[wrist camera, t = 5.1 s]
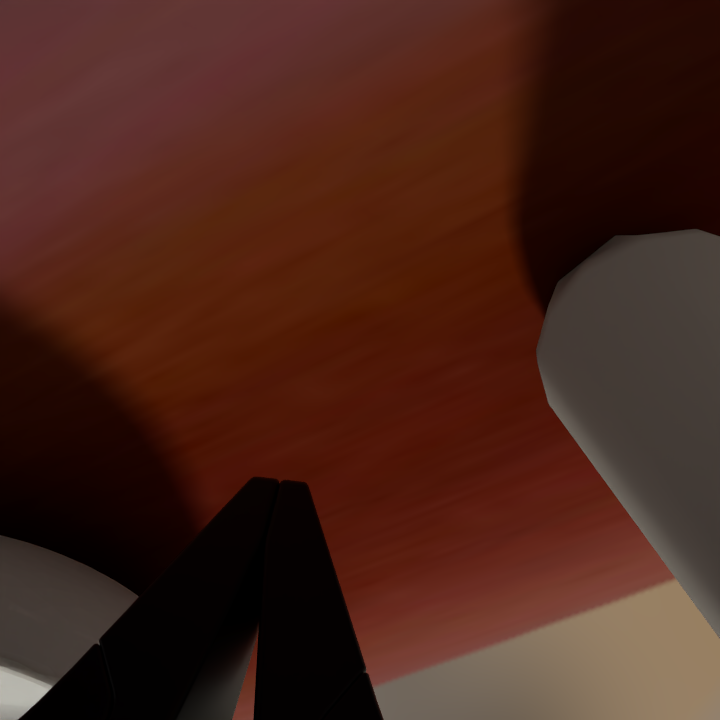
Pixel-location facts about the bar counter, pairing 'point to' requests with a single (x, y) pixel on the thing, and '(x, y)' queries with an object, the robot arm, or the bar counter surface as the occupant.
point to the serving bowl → (48, 619)
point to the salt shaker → (647, 390)
